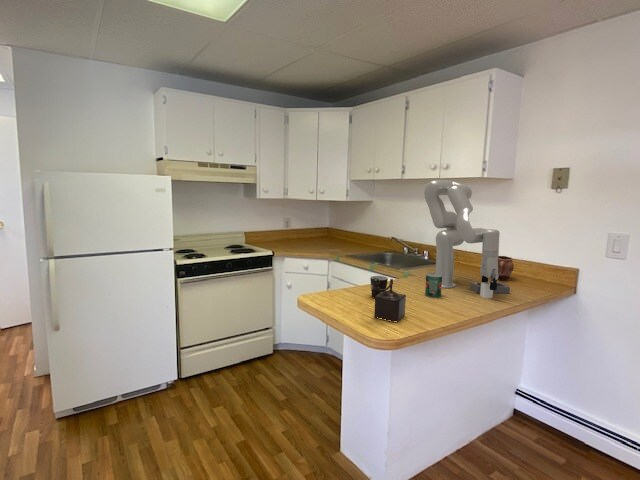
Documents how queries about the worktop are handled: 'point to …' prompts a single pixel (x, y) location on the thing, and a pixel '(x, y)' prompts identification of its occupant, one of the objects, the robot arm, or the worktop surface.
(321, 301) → the worktop surface
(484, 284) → the block
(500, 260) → the decorative planter
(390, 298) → the manual coffee grinder
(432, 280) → the canned tomato
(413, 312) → the worktop surface
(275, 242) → the worktop surface
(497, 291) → the power strip
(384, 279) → the coffee mug
